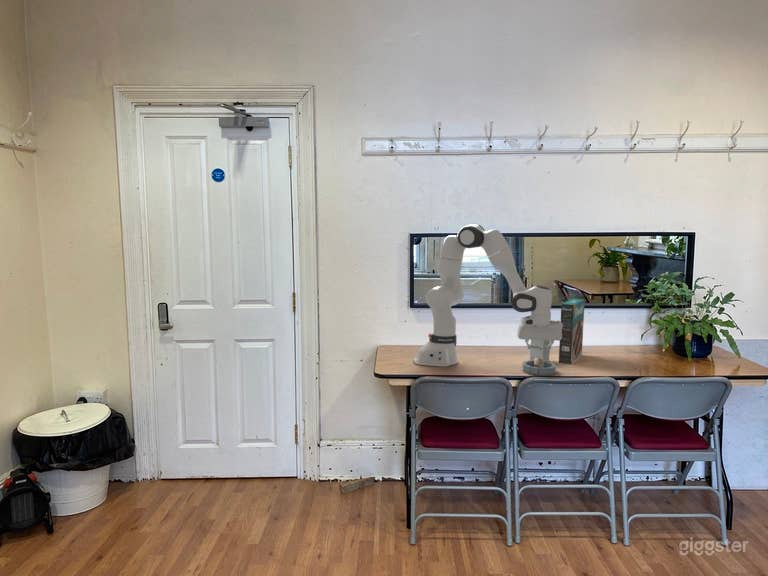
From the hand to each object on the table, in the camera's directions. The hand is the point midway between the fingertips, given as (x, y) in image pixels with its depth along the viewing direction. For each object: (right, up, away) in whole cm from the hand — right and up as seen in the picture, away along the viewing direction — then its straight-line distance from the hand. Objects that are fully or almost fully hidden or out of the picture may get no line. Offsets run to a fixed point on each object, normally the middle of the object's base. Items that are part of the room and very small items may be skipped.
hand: (538, 348), depth 252 cm
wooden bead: (0, -10, +1) cm, 10 cm away
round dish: (0, -11, +1) cm, 11 cm away
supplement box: (+6, -9, +21) cm, 23 cm away
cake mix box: (+24, -8, +25) cm, 35 cm away
